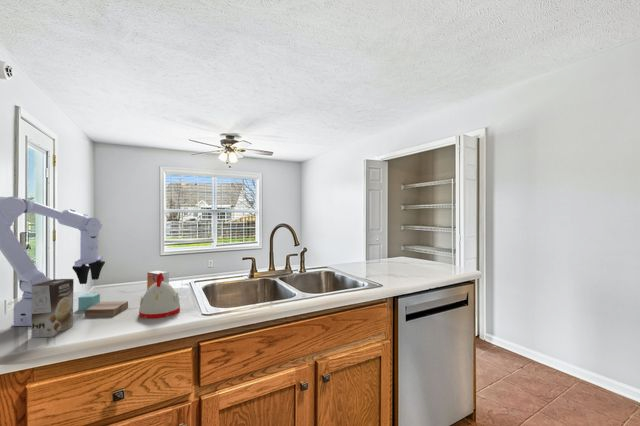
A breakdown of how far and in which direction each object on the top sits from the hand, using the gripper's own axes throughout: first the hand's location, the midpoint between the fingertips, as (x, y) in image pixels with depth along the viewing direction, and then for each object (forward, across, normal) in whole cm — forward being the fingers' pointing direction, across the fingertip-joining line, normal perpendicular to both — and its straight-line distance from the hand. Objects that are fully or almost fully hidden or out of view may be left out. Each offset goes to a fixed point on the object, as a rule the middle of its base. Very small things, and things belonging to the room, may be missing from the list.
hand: (89, 281), depth 123 cm
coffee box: (+11, -25, -4) cm, 27 cm away
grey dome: (+11, -8, -30) cm, 33 cm away
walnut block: (+11, -6, -10) cm, 16 cm away
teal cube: (+10, 0, 0) cm, 10 cm away
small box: (+11, +18, -19) cm, 28 cm away
